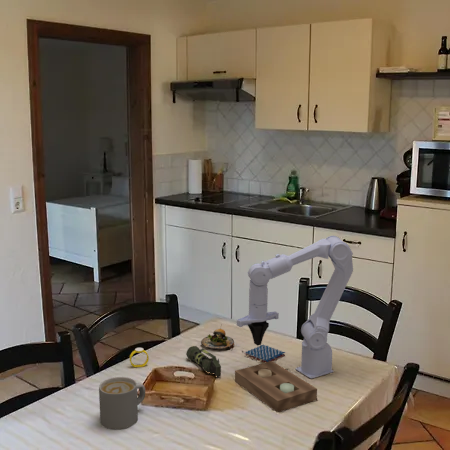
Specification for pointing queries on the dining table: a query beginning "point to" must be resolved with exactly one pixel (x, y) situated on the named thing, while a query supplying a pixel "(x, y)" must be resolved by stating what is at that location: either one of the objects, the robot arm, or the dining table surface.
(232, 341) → the burger
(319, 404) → the dining table surface
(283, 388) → the sage peg
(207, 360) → the dark green rolled bundle
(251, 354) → the woven mat
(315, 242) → the robot arm
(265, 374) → the maple peg
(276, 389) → the walnut block
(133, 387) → the coffee mug
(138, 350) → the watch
